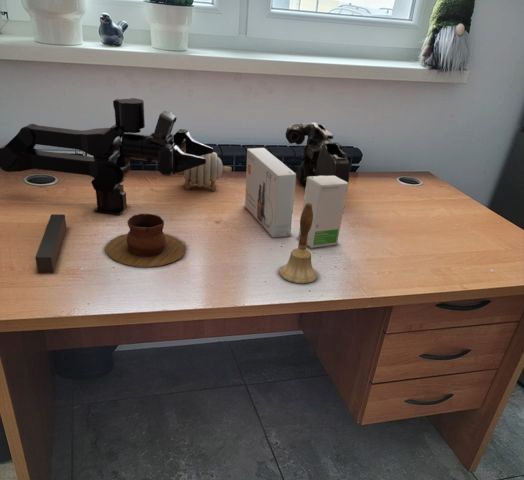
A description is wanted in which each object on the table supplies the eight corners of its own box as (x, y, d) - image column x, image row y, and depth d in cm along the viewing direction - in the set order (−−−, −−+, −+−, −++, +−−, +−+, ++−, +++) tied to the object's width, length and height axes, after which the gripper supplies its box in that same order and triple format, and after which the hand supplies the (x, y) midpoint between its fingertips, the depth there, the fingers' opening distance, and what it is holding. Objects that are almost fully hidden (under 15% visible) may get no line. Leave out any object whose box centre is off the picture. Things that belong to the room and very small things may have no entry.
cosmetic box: (310, 249, 125) (320, 185, 115) (296, 238, 129) (304, 176, 120) (338, 244, 128) (350, 182, 119) (324, 234, 133) (334, 173, 123)
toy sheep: (173, 180, 155) (172, 142, 148) (228, 182, 158) (230, 145, 151) (173, 193, 147) (173, 153, 140) (232, 194, 150) (234, 155, 143)
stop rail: (38, 272, 104) (35, 257, 102) (53, 228, 121) (51, 214, 119) (53, 272, 105) (50, 257, 103) (66, 228, 122) (64, 214, 120)
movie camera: (274, 171, 168) (283, 115, 157) (325, 175, 172) (337, 120, 162) (299, 211, 145) (311, 148, 134) (357, 214, 149) (374, 154, 138)
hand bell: (277, 265, 116) (285, 196, 107) (313, 266, 117) (324, 198, 108) (281, 283, 110) (290, 211, 100) (319, 284, 111) (332, 213, 101)
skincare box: (242, 206, 143) (246, 147, 134) (260, 205, 145) (265, 147, 135) (271, 238, 128) (277, 174, 118) (291, 236, 130) (299, 173, 120)
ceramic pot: (202, 253, 118) (202, 224, 114) (137, 275, 107) (135, 244, 103) (153, 226, 127) (152, 199, 123) (90, 245, 116) (86, 215, 112)
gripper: (131, 120, 111) (202, 129, 111) (154, 103, 126) (217, 111, 126) (134, 172, 118) (201, 180, 117) (156, 150, 133) (215, 157, 132)
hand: (209, 155), depth 123 cm, fingers open, 9 cm apart
